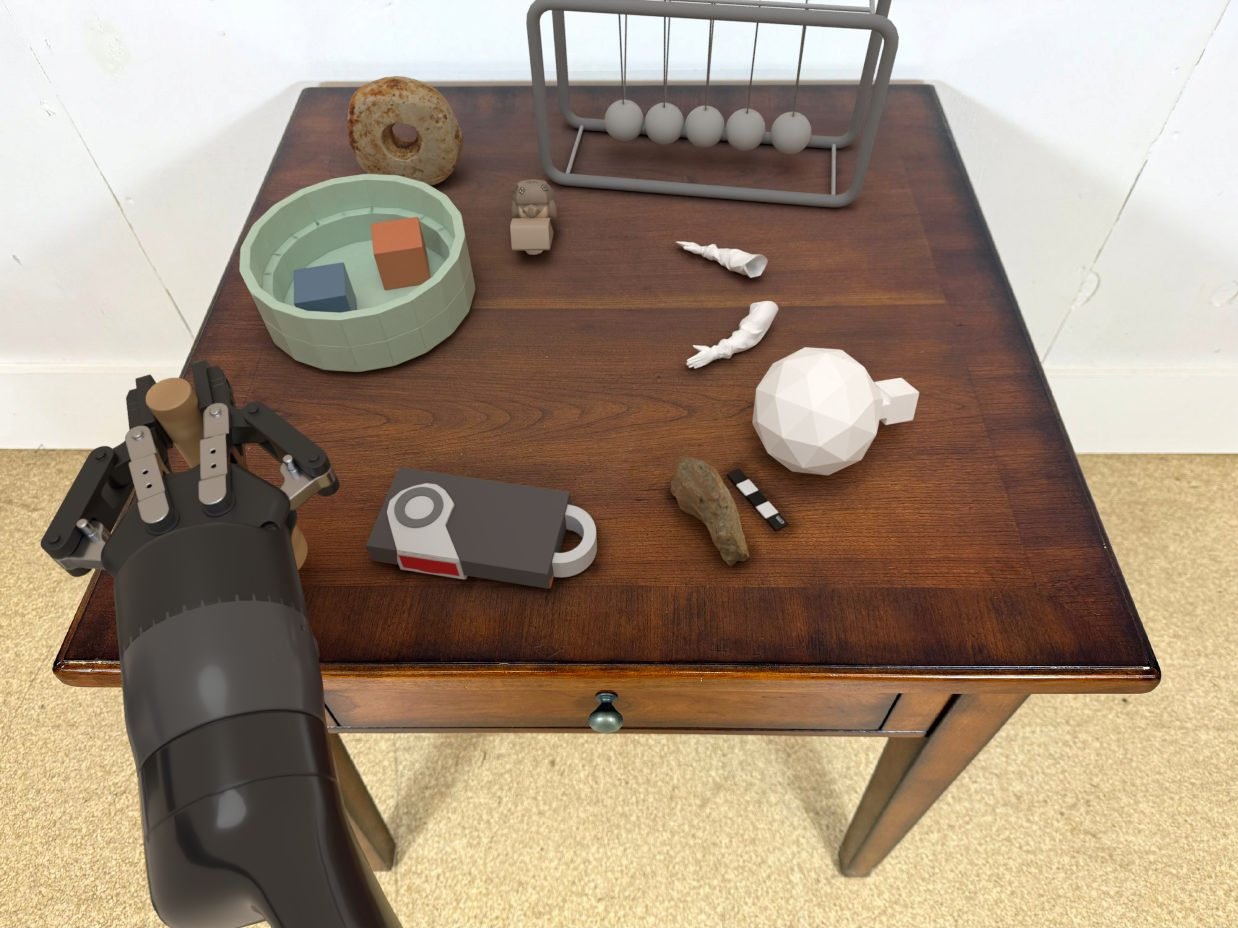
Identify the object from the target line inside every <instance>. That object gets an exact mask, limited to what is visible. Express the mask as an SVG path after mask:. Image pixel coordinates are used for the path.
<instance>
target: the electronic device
mask: <svg viewBox="0 0 1238 928" xmlns="http://www.w3.org/2000/svg"><path fill="white" fill-rule="evenodd" d="M396 471H397V472H396V473H395V476H394V477H393V481H392V482H391V484H390V487H389V490H388V492H387V494H386V497H385V498H384V499H385V500H384V502H383V503H382V506H381V509H380V510H379V513H378V515H377V518H376V520H375V522H374V525H373V527H372V530H371V531H370V534H369V536H368V538H367V540H366V543H365V548H366V550H367V552H368V554H369V556H370V559H371V561H374V562H380V563H385V564H391V565H398V566H399V569H400V570H402V571H410V572H415V573H421V574H427V575H434V576H440V577H446V578H452V579H459V580H467V578H468V577H472V578H473V577H474V578H479V579H485V580H492V581H498V582H504V583H511V584H515V585H516V584H517V585H523V586H529V587H535V588H542V589H548V590H549V589H551V588H552V586H553V585H552V584H553V582H554V578H568V577H572V576H576V575H578V574H581V573H582V572H584V571H585V570H587V568H588V567H590V566H591V564H592V563H593V562H594V560H595V559H596V555H597V551H598V539H597V527H596V524H595V521H594V519H593V518H592V516H591V515H590V514H589V513H588V512H587V511H585V510H584V509H583V508H581V507H579V506H576V505H573V504H572V499H571V491H569V490H561V489H556V488H555V489H554V488H547V487H546V488H545V487H541V486H534V485H526V484H519V483H513V482H505V481H499V480H492V479H484V478H480V477H479V478H477V477H471V476H463V475H457V474H452V473H451V474H450V473H444V472H437V471H430V470H424V469H423V470H422V469H416V468H410V467H404V466H399V467H398V469H397V470H396ZM567 530H568V531H572V532H574V533H576V534H577V535H579V536H580V537H581V538H582V539H581V541H580V543H579V544H578V545H577V546H576V547H575V548H573V549H571V550H568V551H565V552H561V551H562V547H563V544H564V540H565V537H566V533H567Z"/></svg>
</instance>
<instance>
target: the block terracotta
mask: <svg viewBox="0 0 1238 928" xmlns="http://www.w3.org/2000/svg"><path fill="white" fill-rule="evenodd" d="M371 231H372V243H373V254H374V257H375V261H376V264H377V267H378V270H379V274H380V277H381V280H382V283H383V287H384V290H391V289H397V288H403V287H409V286H416V285H421V284H423V283H424V282H426V281H427V280H429V279H430V278H431V276H430V269H429V262H428V255H427V250H426V246H425V242H424V238H423V234H422V230H421V226H420V222H419V218H418V217H413V218H406V219H399V220H393V221H386V222H380V223H373V224H371Z"/></svg>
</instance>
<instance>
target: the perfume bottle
mask: <svg viewBox="0 0 1238 928" xmlns="http://www.w3.org/2000/svg"><path fill="white" fill-rule="evenodd" d="M754 395H755V396H754V404H753V413H752V425H753V428H754V430H755V431H756V433H757V435H758V437H759V439H760V441H761V443H762V445H763V446H764V449H765V451H766V453H767V454H768V455H770V456H771V457H772V458H773V459H775V460H776V461H777V462H779V463H780V464H781V465H783V467H785V468H787V469H788V470H789V471H791V473H792V472H793V473H803V474H812V475H819V476H820V475H821V476H830V475H832V474H834V473H837V472H839V471H841V470H843V469H845V468H847V467H849V466H851V465H853V464H856V463H858V462H860V461H862V460H863V458H864V457H865V454H866V453H867V451H868V450H869V448H870V447H871V445H872V443H873V441H874V440H875V438H876V436H877V433H878V428H879V424H880V422H882V424H884V425H885V426H888V425H893V424H898V423H905V422H910V421H914V419H915V413H916V409H917V404H918V401H919V396H920V391H918V390H917V389H916V388H915V387H914V386H912V385H911V384H910V383H909V382H907V380H905V379H904V378H903V377H897V378H890V379H884V380H878V381H874V380H873V379H872V377H871V375H870V373H869V371H868V370H867V369H866V368H865V366H864V365H862V364H861V363H860V362H858V361H857V360H856V359H855V358H854V357H853V356H852V357H851V356H850V355H849V354H848V353H847V352H846V351H844V350H843V349H836V348H824V347H823V348H821V347H809V346H808V347H807V346H804V347H802V348H801V349H799V350H797V351H795V352H792V353H791V354H789V355H787V356H785V357H783V358H781V359H779V360H777V361H775V362H773V363H772V364H771V365H770V367H769V369H768V370H767V372H766V373H765V375H764V376H763V377H762V379H761V381H760V382H759V383H758V385H757V386H756V388H755V394H754Z"/></svg>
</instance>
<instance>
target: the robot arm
mask: <svg viewBox="0 0 1238 928" xmlns="http://www.w3.org/2000/svg"><path fill="white" fill-rule="evenodd" d="M190 366H191V371H192V378H193V383H194V389H195V390H194V391H195V393H196V395H197V397H198V407H199V410H200V411H201V413H202V414H203V427H204V438H202V439H200V464H199V465H197V466H195V467H193V468H189V469H187V470H184V471H176V472H175V469H174V465H173V462H172V459H171V457H170V455H169V451H168V450H171V449H174V443H173V442H172V440H171V439H170V437H169V436H168V435H167V433H166V432H165V430H164V429H163V427H162V426H161V424H160V423H159V421H158V420H157V419H156V417H155V416H154V414H153V413H152V411H151V410H150V408H149V407H148V405H147V404H146V395H147V392H148V391H149V389H150V388H151V387H152V386H153V385H155V384H156V383H157V382H156V380H155V378H154V377H153V376H152V374H146V375H142V376H139V377H136V378H135V387H136V388H132V389H129V390H128V392H127V394H126V397H125V403H126V411H127V413H126V414H127V421H128V429H129V430H128V431H127V432H126V434H125V437H124V440H123V442H122V443H119V444H118V445H116V446H114V447H113V448H112V447H111V446H109V445H100V446H98V447H96V448H94V449H93V450H91V451H90V453H89V454H88V456H87V457H86V459H85V461H84V463H83V465H82V466H81V468H80V470H79V471H78V473H77V475H76V477H75V479H74V480H73V482H72V484H71V486H70V487H69V490H68V492H67V493H66V495H65V497H64V498H63V500H62V503H61V504H60V506H59V507H58V509H57V511H56V512H55V514H54V517H53V518H52V520H51V522H50V524H49V525H48V527H47V529H46V531H45V532H44V534H43V535H42V538H41V540H40V547H41V549H42V550H43V551H45V552H46V554H48V555H49V557H50V559H51V560H52V561H54V562H55V563H56V564H57V565H58V566H59V567H60V568H61V569H63V570H65V572H67V574H69V575H70V576H71V577H73V578H80V577H83V576H86V575H88V574H89V573H90V572H91V571H93V570H104V571H105V572H107V573H108V574H109V575H110V576H111V577H112V579H113V581H114V582H113V597H114V608H115V609H114V610H115V620H116V621H115V622H116V631H117V632H116V634H117V642H118V643H117V645H118V656H119V669H120V679H121V680H120V681H121V691H122V703H123V715H124V716H123V717H124V724H125V730H126V734H127V739H128V742H129V743H128V744H129V746H130V749H131V753H132V756H133V761H134V765H135V772H136V778H137V791H138V803H139V813H140V815H139V816H140V823H141V835H142V837H141V838H142V846H143V855H144V864H145V865H144V866H145V875H146V881H147V882H146V883H147V888H148V889H147V890H148V894H149V898H150V901H151V905H152V908H153V910H154V911H155V914H156V915H157V916H158V919H159V920H160V921H161V922H162V923H163V925H165V926H167V927H168V928H246V927H250V926H252V925H256V924H257V925H258V924H261V923H264V922H266V923H267V924H268V926H269V927H270V928H404V926H403V925H402V923H401V921H400V920H399V917H398V916H397V914H396V912H395V910H394V909H393V907H392V905H391V903H390V902H389V899H388V897H387V896H386V894H385V892H384V890H383V888H382V886H381V884H380V882H379V880H378V878H377V876H376V874H375V873H374V872H375V871H374V870H373V868H372V867H371V864H370V862H369V860H368V858H367V856H366V854H365V852H364V849H363V848H362V846H361V843H360V842H359V839H358V838H357V835H356V832H355V831H354V828H353V826H352V823H351V821H350V819H349V816H348V813H347V810H346V806H345V802H344V797H343V791H342V788H341V782H340V777H339V773H338V768H337V764H336V763H337V762H336V760H335V755H334V750H333V746H332V742H331V736H330V733H329V732H330V731H329V728H328V724H327V723H328V722H327V718H326V717H327V716H326V703H325V689H324V681H323V673H322V670H321V669H322V668H321V665H320V657H321V654H320V647H319V643H318V639H317V638H316V637H315V634H314V633H313V629H312V624H311V619H310V616H309V612H308V608H307V603H306V599H305V595H304V591H303V586H302V581H301V578H300V574H299V570H298V568H297V564H296V559H295V555H294V550H293V546H292V534H293V531H294V528H295V526H296V524H298V523H297V522H298V513H297V510H298V509H299V508H300V507H301V506H303V505H304V504H305V503H306V502H307V501H309V500H310V499H311V498H312V497H314V496H315V495H316V494H317V495H319V496H321V497H331V496H333V495H335V494H336V493H337V492H338V491H339V489H340V487H341V484H340V481H339V479H338V476H337V474H336V472H335V469H334V467H333V466H332V463H331V461H330V458H329V456H328V455H327V452H326V451H325V450H324V449H322V448H321V447H320V446H319V445H317V444H316V443H315V442H314V441H312V440H311V439H310V438H308V437H307V436H306V435H304V434H303V433H302V432H301V431H299V430H298V429H297V428H295V427H294V426H293V425H292V424H290V423H289V422H288V421H287V420H285V419H284V418H283V417H282V416H281V415H279V414H278V413H277V412H275V411H274V410H273V409H272V408H270V407H269V406H268V405H266V404H265V403H264V402H262V401H259V400H258V401H257V400H256V401H251V402H249V403H246V404H245V405H244V406H243V407H242V408H237V405H236V400H235V395H234V389H233V387H232V385H231V383H230V381H229V379H228V377H227V376H226V374H225V372H224V371H223V370H222V369H221V367H220V366H219V365H218V364H217V365H214V366H210V364H209V362H208V361H207V359H206V358H203V359H199V360H197V361H192V362H191V363H190ZM251 444H253V445H254V444H257V445H258V447H260V449H262V450H263V451H265V453H267V454H268V455H270V457H272V458H273V459H274V460H275V461H277V462H278V463H279V464H280V467H279V472H280V474H281V476H282V478H283V483H282V485H281V486H280V487H278V486H277V485H275V484H272V483H271V482H269V481H268V480H266V479H264V478H262V477H260V476H259V475H257V474H256V473H254V472H252V471H250V470H249V467H248V464H247V463H248V462H247V452H246V445H251ZM133 490H135V493H136V497H135V499H134V501H133V502H132V503H131V505H130V506H129V508H128V509H127V511H126V512H125V513H124V515H123V517H122V518H121V519H120V521H119V522H118V520H119V518H120V516H121V514H122V513H123V510H124V508H125V506H126V504H127V503H128V501H129V499H130V496H131V494H132V492H133ZM117 522H118V524H117ZM116 524H117V525H116ZM115 526H116V527H115Z"/></svg>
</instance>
